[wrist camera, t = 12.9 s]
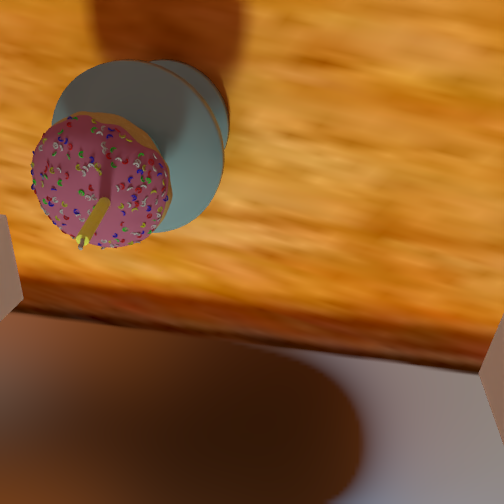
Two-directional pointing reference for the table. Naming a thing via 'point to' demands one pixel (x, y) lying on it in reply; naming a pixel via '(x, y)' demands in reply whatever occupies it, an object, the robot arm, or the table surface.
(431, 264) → the table surface
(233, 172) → the table surface
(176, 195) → the cake stand
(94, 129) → the cupcake
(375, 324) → the table surface
